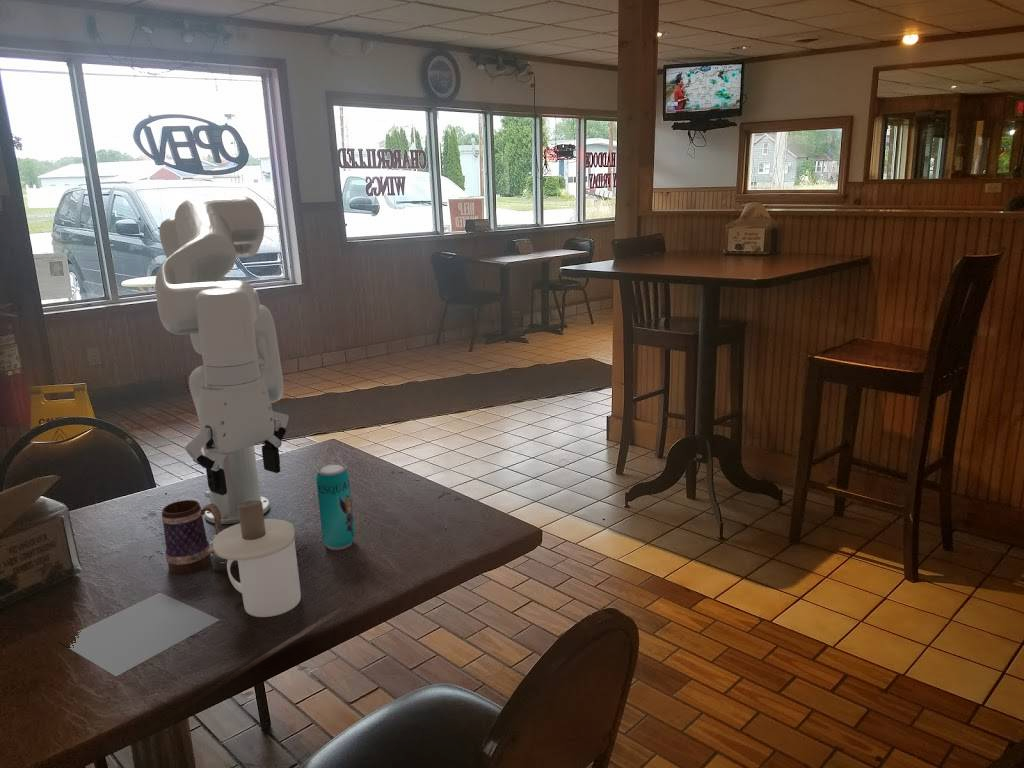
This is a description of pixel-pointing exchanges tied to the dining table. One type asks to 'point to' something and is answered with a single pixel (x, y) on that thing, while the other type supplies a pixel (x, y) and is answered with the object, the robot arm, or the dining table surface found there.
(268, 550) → the lid
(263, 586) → the mug
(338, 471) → the beverage can
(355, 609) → the dining table surface
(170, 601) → the mat
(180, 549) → the mug
